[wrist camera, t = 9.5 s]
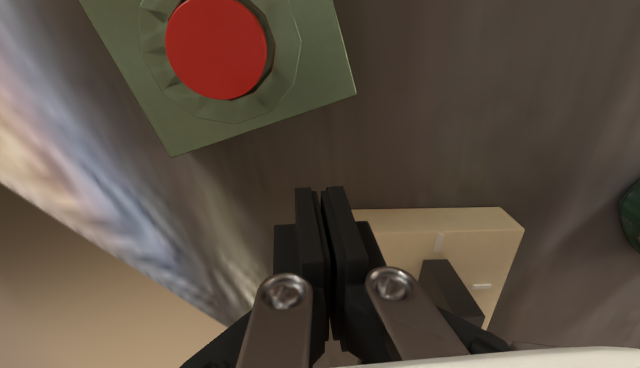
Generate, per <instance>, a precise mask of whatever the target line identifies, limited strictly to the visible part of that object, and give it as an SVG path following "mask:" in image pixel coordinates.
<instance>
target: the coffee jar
mask: <svg viewBox="0 0 640 368" xmlns="http://www.w3.org/2000/svg"><path fill="white" fill-rule="evenodd" d="M619 215H620V219H621V223H622V227H623V229H624V232H625V234H626V236H627V238H628V240H629V241H630V243H631V244H632V246H633V247H634V248H635V250H636V251H637V252H638V253H639V254H640V179H639V180H638V181H637V182H636V183H635V184H634V185H633V186H632V187H631V188H630V189H629V191H628V192H627V193H626V194H625V196H624V197H623V198H622V199H621V201H620V204H619Z"/></svg>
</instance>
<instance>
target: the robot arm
mask: <svg viewBox="0 0 640 368" xmlns="http://www.w3.org/2000/svg"><path fill="white" fill-rule="evenodd" d="M295 214H296V224H290V225H275V226H274V262H273V275H272V276H271V277H269V278H267V279H265V280H264V281H263V282H262V283H261V284H260V286H259V288H258V290H257V294H256V297H255V301H254V304H253V308H252V310H250V311H249V312H248V313H247V314H245V315H244V316H243V317H242V318H240V319H239V320H238V321H237V322H235V323H234V324H233V325H231V326H230V327H229V328H228V329H226V330H225V331H224V332H223V333H221V334H220V335H219V336H218V337H217V338H215V339H214V340H213V341H211V342H210V343H209V344H207V345H206V346H205V347H204V348H203V349H201V350H200V351H199V352H197V353H196V354H195V355H194V356H192V357H191V358H190V359H189V360H187V361H186V362H185V363H184V364H183V365H182V366H181V367H180V368H313V365H314V363H315V362H316V361H317V360H318V359H319V358H320V357H321V356H322V354H323V353H324V352H325V341H328V340H329V316H330V322H331V329H332V335H333V339H334V340H340V344H341V349H342V352H344V351H349V352H350V353H352V354H353V355H355V356H356V357H358V360H357V363H358V365H355V366H344V367H333V368H640V349H634V348H626V347H605V346H595V347H557V346H548V345H540V344H532V343H523V342H515V341H513V343H512V345H511V346H509V345H508V344H507V343H506V342H505V341H503V340H502V339H500V338H498V337H497V336H495V335H493V334H491V333H489V332H487V331H486V330H484V329H482V328H480V327H478V326H476V325H474V324H472V323H470V322H468V321H466V320H464V319H462V318H460V317H458V316H456V315H454V314H452V313H450V312H448V311H446V310H444V309H442V308H440V307H438V306H436V305H434V303H433V302H432V300H431V299H430V298H429V296H428V295H427V294H426V292H425V291H424V289H423V288H422V287H421V285H420V284H419V283H418V281H417V280H416V279H415V278H414V277H413V276H412V275H411V274H410V273H408V272H407V271H405V270H403V269H400V268H397V267H391V266H387V265H386V262H385V260H384V258H383V255H382V253H381V250H380V248H379V246H378V243H377V241H376V239H375V236H374V234H373V232H372V229H371V227H370V224H369V223H368V221H355V219H354V216H353V214H352V211H351V208H350V205H349V202H348V200H347V197H346V194H345V191H344V189H343V186H333V187H327V188H326V191H321V210H320V205H319V200H318V195H317V191H311V188H310V187H308V188H295Z"/></svg>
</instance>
